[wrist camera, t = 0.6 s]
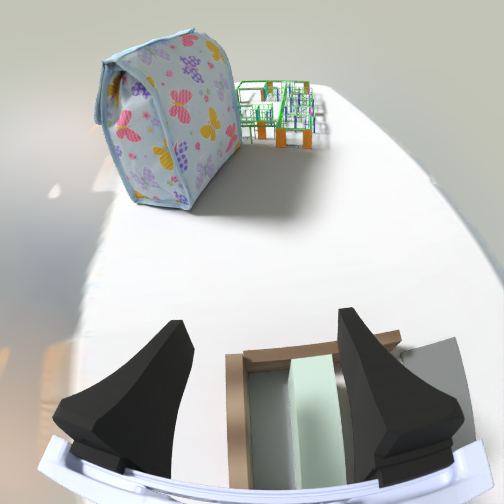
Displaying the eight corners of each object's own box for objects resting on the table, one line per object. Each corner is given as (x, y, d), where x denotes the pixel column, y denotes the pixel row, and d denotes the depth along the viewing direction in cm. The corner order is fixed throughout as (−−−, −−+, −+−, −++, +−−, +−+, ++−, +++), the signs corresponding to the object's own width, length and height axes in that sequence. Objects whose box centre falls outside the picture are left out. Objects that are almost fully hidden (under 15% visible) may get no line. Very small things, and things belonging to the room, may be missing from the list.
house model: (315, 150, 52) (316, 129, 48) (178, 150, 57) (173, 131, 53) (311, 95, 73) (312, 81, 69) (218, 96, 78) (216, 83, 74)
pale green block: (326, 485, 18) (347, 504, 11) (295, 489, 18) (303, 512, 11) (316, 378, 26) (331, 353, 19) (287, 382, 26) (291, 359, 19)
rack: (407, 484, 16) (429, 489, 12) (239, 513, 17) (232, 527, 13) (386, 343, 27) (402, 325, 23) (233, 362, 28) (225, 348, 24)
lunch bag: (181, 140, 59) (156, 35, 38) (249, 144, 54) (235, 21, 34) (121, 203, 47) (67, 74, 26) (198, 217, 42) (151, 45, 21)
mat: (473, 441, 17) (475, 440, 16) (418, 467, 17) (421, 467, 17) (452, 338, 26) (454, 336, 25) (400, 353, 26) (402, 351, 26)
